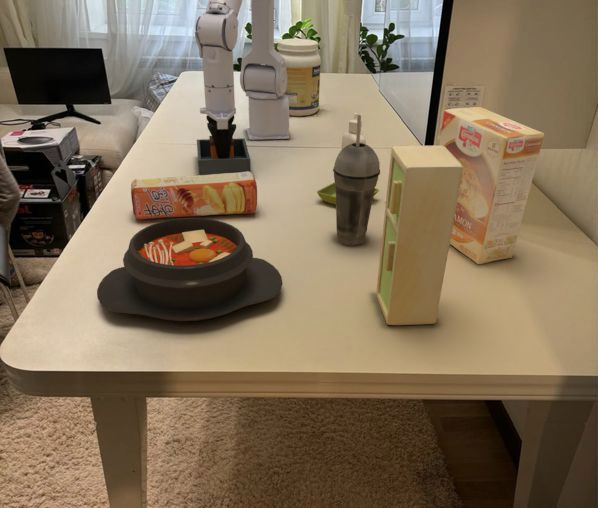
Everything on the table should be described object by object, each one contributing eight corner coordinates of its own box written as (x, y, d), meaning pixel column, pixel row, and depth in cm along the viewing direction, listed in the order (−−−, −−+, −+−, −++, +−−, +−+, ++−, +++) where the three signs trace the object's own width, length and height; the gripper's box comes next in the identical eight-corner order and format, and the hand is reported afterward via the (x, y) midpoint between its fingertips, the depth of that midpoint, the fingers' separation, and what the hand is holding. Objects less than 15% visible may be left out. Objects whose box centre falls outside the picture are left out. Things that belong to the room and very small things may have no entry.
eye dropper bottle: (360, 169, 126) (365, 109, 118) (363, 178, 121) (369, 117, 114) (339, 169, 125) (343, 109, 118) (342, 178, 121) (346, 117, 114)
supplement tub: (319, 117, 157) (322, 46, 147) (273, 116, 157) (272, 44, 147) (318, 105, 167) (321, 38, 157) (275, 104, 166) (275, 36, 156)
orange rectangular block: (233, 159, 126) (232, 135, 123) (234, 166, 122) (233, 141, 119) (210, 159, 125) (209, 135, 122) (211, 166, 122) (210, 142, 119)
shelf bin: (245, 156, 130) (244, 138, 128) (250, 178, 120) (250, 158, 117) (198, 158, 129) (196, 139, 127) (199, 180, 118) (197, 160, 116)
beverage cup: (377, 234, 100) (391, 109, 88) (367, 252, 95) (380, 122, 83) (335, 227, 102) (343, 104, 90) (323, 244, 96) (330, 116, 85)
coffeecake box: (423, 226, 103) (442, 108, 91) (458, 220, 105) (480, 105, 94) (477, 265, 92) (506, 137, 80) (513, 258, 94) (547, 132, 83)
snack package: (134, 224, 101) (128, 185, 97) (135, 208, 106) (130, 171, 102) (258, 217, 104) (257, 180, 100) (254, 203, 110) (253, 166, 106)
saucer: (340, 188, 116) (340, 178, 115) (379, 199, 112) (380, 188, 111) (315, 202, 111) (315, 191, 109) (355, 214, 107) (356, 203, 105)
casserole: (94, 342, 73) (81, 282, 68) (104, 270, 88) (93, 216, 83) (293, 324, 78) (294, 267, 73) (271, 258, 92) (270, 206, 87)
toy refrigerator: (369, 294, 84) (386, 144, 72) (420, 293, 85) (445, 144, 72) (380, 326, 78) (400, 167, 65) (435, 325, 78) (466, 167, 66)
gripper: (197, 76, 120) (202, 144, 128) (198, 94, 108) (204, 167, 116) (232, 76, 121) (235, 143, 129) (237, 93, 109) (240, 166, 117)
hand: (222, 155), depth 123 cm, fingers closed on orange rectangular block, 4 cm apart
